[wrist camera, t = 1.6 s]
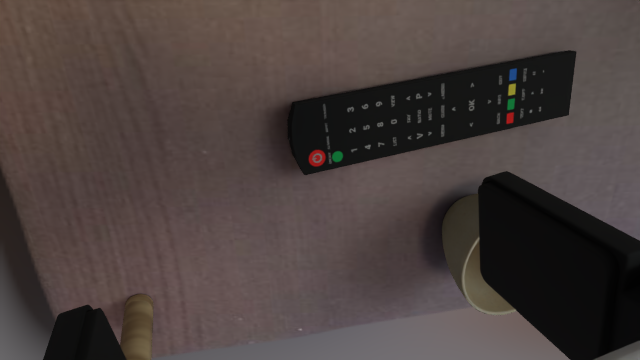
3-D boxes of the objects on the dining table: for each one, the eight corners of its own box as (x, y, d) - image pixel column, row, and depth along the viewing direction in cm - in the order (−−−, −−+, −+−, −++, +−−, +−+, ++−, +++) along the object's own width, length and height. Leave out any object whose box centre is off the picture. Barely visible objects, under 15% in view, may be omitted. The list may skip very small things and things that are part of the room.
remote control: (556, 111, 40) (568, 115, 39) (292, 170, 34) (297, 176, 33) (563, 49, 38) (576, 51, 36) (282, 101, 32) (287, 106, 31)
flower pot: (423, 173, 38) (475, 210, 32) (522, 165, 41) (587, 197, 35) (410, 275, 42) (454, 325, 35) (501, 260, 45) (556, 305, 38)
